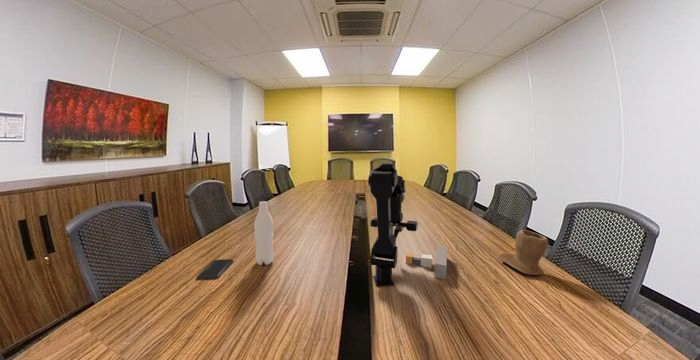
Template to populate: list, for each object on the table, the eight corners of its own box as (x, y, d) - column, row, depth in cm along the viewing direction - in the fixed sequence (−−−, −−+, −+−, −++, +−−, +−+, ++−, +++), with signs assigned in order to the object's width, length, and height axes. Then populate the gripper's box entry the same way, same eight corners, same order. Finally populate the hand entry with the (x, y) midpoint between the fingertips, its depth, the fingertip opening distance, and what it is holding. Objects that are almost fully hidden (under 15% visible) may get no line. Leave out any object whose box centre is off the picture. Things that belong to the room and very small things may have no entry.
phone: (233, 259, 106) (218, 276, 91) (234, 261, 106) (218, 279, 92) (214, 259, 106) (195, 277, 91) (214, 262, 106) (195, 280, 91)
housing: (434, 277, 94) (434, 263, 93) (436, 256, 112) (437, 245, 112) (446, 279, 92) (446, 265, 92) (446, 258, 111) (446, 246, 110)
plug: (405, 263, 105) (405, 255, 105) (406, 259, 109) (407, 251, 108) (431, 267, 102) (431, 259, 101) (431, 263, 105) (432, 255, 105)
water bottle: (268, 267, 101) (266, 204, 98) (251, 265, 102) (249, 203, 99) (277, 260, 108) (275, 200, 105) (261, 258, 109) (259, 200, 106)
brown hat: (553, 277, 95) (557, 237, 93) (523, 278, 94) (526, 237, 92) (523, 260, 110) (525, 225, 108) (496, 260, 109) (498, 225, 107)
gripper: (419, 205, 111) (418, 240, 112) (377, 202, 117) (376, 235, 119) (416, 210, 100) (415, 249, 102) (370, 206, 107) (369, 243, 108)
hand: (393, 244), depth 108 cm, fingers closed
